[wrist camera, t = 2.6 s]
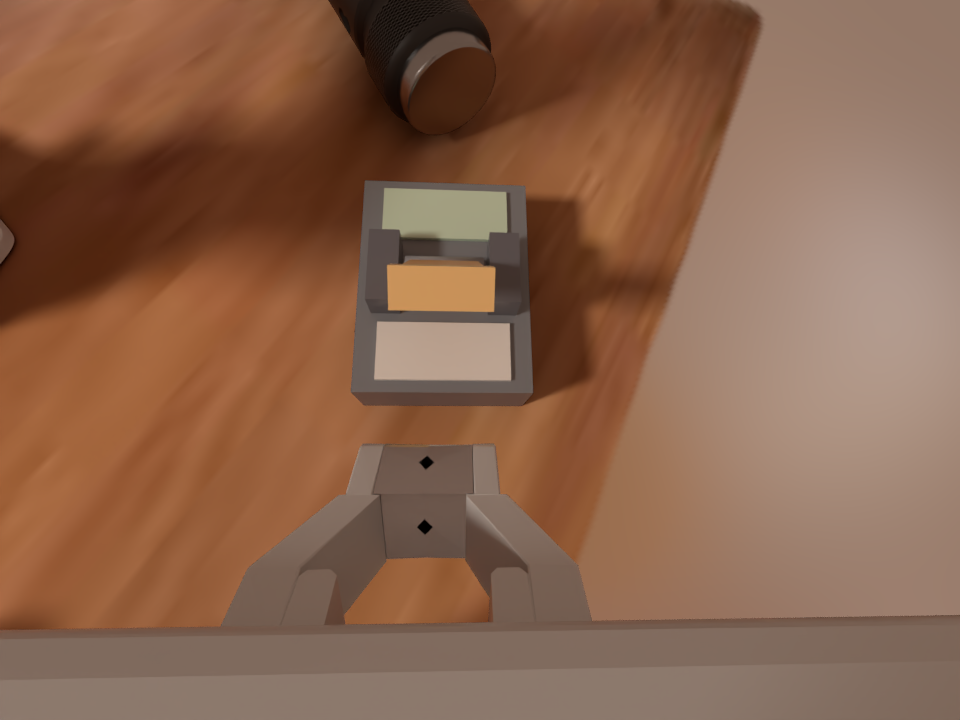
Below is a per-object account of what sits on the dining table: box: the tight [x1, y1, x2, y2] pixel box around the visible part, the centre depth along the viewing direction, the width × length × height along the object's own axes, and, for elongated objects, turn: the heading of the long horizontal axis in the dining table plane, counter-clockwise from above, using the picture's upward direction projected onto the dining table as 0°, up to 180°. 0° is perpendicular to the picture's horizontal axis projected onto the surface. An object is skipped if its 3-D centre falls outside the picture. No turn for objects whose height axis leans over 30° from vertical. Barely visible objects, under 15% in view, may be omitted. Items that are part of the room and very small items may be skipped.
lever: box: [387, 256, 495, 312], centre depth 27 cm, size 2×5×12 cm, turn 89°
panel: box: [351, 180, 533, 406], centre depth 34 cm, size 16×12×8 cm
